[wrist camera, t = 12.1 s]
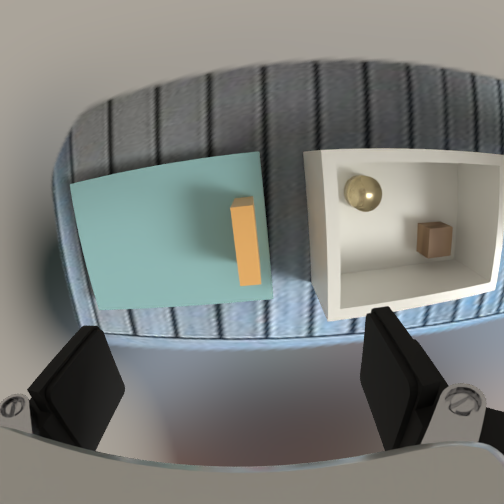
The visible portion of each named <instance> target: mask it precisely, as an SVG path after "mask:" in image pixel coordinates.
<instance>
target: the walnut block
mask: <svg viewBox="0 0 504 504" xmlns="http://www.w3.org/2000/svg"><path fill="white" fill-rule="evenodd" d="M452 232H453V227H452V226H450V225H447V224H445V223H443V222H440V221H438V222H426V223H418V227H417V250H416V251H417V252H419V253H420V254H422V255H423V256H425V257H426V258H428V259H429V258H436V257H444V256H451V245H452Z"/></svg>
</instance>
